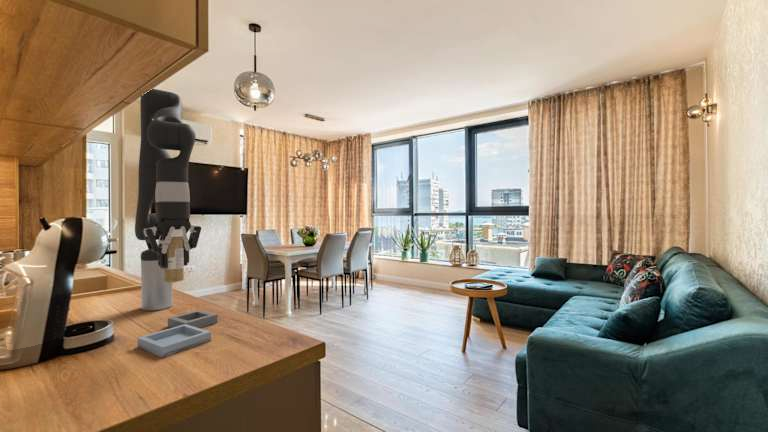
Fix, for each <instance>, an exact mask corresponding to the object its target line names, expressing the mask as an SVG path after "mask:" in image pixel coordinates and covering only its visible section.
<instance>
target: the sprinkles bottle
mask: <svg viewBox="0 0 768 432" xmlns="http://www.w3.org/2000/svg"><path fill="white" fill-rule="evenodd" d="M171 237H172V238H171V242H170V244H169V245H168V248H167V252H166V254H167V257H168V267H167V268H165V269H164V271H165V279H164V281H165V282H172V283H179V282H182V281H184V280H185V272H184V268H185V266H184V248H183V231H182V230H180V229H175V230H173V231H172V233H171ZM164 240H165V239H164Z"/></svg>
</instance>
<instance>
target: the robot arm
mask: <svg viewBox="0 0 768 432" xmlns="http://www.w3.org/2000/svg"><path fill="white" fill-rule="evenodd" d="M139 104H140V110H139V111H140V146H139V147H140V148H139V156H138V158H139V159H138V188H137V189H138V192H137V193H138V194H137V206H136V214H135V222H134V234H135V237H136V238H137V240H139V241H145V243H146V246H147V249H145V250H142V251H141V252H140V279H141V282H140V285H141V286H140V287H141V289H140V290H141V295H140V296H141V310H142V311H160V310H164V309H168V308H171V307H172V306H173V305H174V304H173V282H165V281H164V279H165V271H164V269H165V268H167V267H168V257H167V254H166V252H167V248H168V245H169V244H170V242H171V238H172V237H171V233H172V231H173V230H175V229H180V230H182V231H183V248H184V267H185V266H188V263H189V262H190V250H192V249H196V248H197V246H198V242H199V239H200V235H201V231H202V226H201V225H192V223H191V221H190V218H191V216H190V215H191V208H190V207H191V201H190V200H191V196H190V192H191V191H190V186H189V185H190V184H189V164H190V158H191V155H192V152H193V148H194V146H195V143H196V136H197V135H196V132H195V129H194V128H193V126H191V125H190V124H188V123H184V122H183V111H184V110H183V109H184V108H183V101H182V98H181V96H180V95H179V94H177V93H174V92H173V91H172V92H171V91H168V90H167V91H166V90H162V89H157V88H152V90H150V91H149V92H147V93H146V94H144V95H143V96H142V95H141V94H140V103H139ZM167 150H168V151H167ZM169 150H171V151H179V154H178V155H177V156H175V157H171V155H170V153H169ZM154 202H155V213H150V210H151V207H152V205H153V203H154ZM188 233H190V234H189V238H188V235H187V234H188ZM164 239H165V240H164ZM157 240H158V241H157Z"/></svg>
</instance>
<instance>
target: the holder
mask: <svg viewBox="0 0 768 432" xmlns="http://www.w3.org/2000/svg"><path fill="white" fill-rule="evenodd" d="M216 323H218V314H216V313H213V312H210V311H205V310H203V309H197V310H193V311H190V312H185V313H182V314H178V315H175V316H170V317H167V327H169V328H173V327H177V326H180V325H184V324H187V325H190V326H194V327H197V328H200V329H202V328H203V327H208V326H211V325H213V324H216Z"/></svg>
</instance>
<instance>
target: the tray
mask: <svg viewBox="0 0 768 432" xmlns="http://www.w3.org/2000/svg"><path fill="white" fill-rule="evenodd" d="M211 341H212V332H211V331H210V330H208V329H207V330H206V329H203V328H197V327H194V326H190V325H187V324H184V325H180V326H177V327H173V328H172V327H169V328H166V329H163V330H160V331H157V332H153V333H149V334H146V335H142V336H138V337H137V348H139V349H141V350H143V351H147V352H149V353H151V354H153V355H156V356H157V357H161V358H165V357H168V356H170V355H174V354H176V353H177V354H178V353H179V352H183V351H185V350H188V349H191V348H194V347H197V346H200V345H203V344H206V343H208V342H211Z"/></svg>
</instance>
